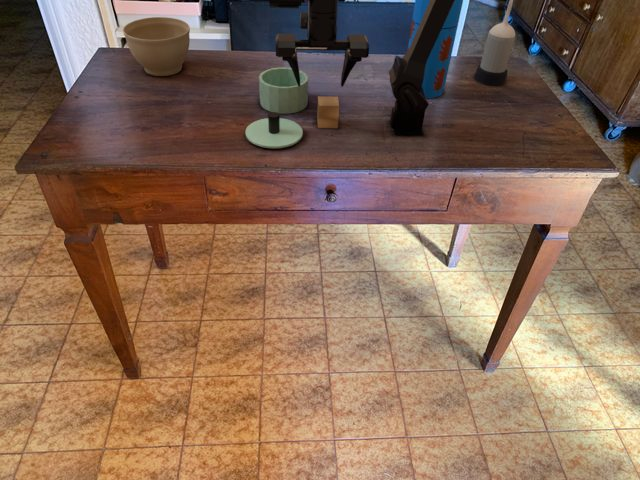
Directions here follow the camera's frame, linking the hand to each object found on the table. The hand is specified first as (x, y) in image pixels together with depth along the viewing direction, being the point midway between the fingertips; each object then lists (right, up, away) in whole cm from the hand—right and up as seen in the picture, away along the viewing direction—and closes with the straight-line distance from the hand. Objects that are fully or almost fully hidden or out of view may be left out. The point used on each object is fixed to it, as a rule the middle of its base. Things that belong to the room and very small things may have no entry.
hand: (320, 85), depth 108 cm
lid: (-10, -10, +2) cm, 14 cm away
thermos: (+27, +6, +23) cm, 36 cm away
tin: (-9, 0, +14) cm, 17 cm away
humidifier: (+46, +11, +30) cm, 56 cm away
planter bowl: (-42, +12, +26) cm, 50 cm away
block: (+2, -6, +7) cm, 10 cm away
